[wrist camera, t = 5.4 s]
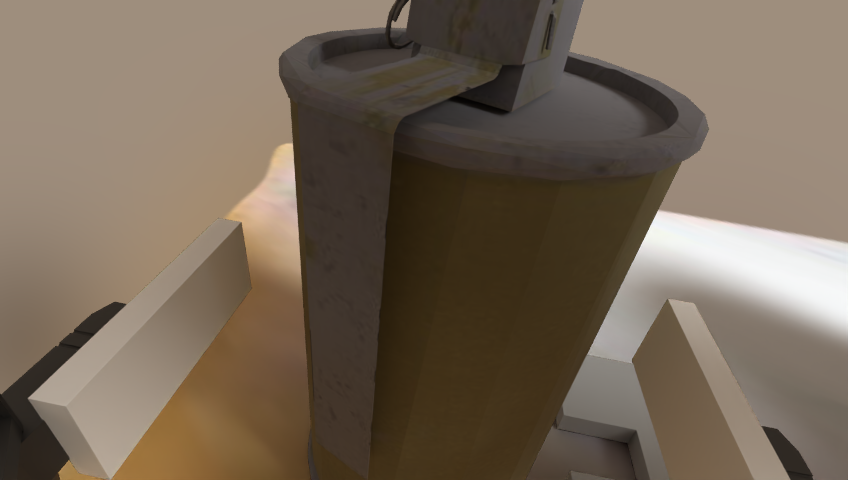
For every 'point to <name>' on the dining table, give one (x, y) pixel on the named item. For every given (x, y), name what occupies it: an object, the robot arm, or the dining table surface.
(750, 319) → the dining table surface
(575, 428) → the notched board
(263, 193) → the dining table surface
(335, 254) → the canister
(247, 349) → the dining table surface
